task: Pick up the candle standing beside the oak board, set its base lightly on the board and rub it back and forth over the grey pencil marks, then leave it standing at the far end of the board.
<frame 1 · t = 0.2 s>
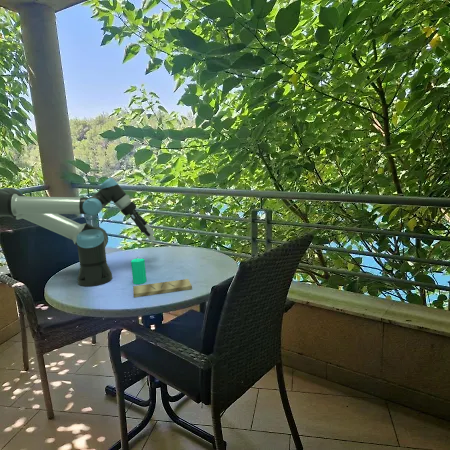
hand: (153, 237, 174), 15 cm above the table, tool tilted 35°, fingers open, 13 cm apart
candle: (139, 282, 154), on the table
oak board: (162, 289, 144), on the table
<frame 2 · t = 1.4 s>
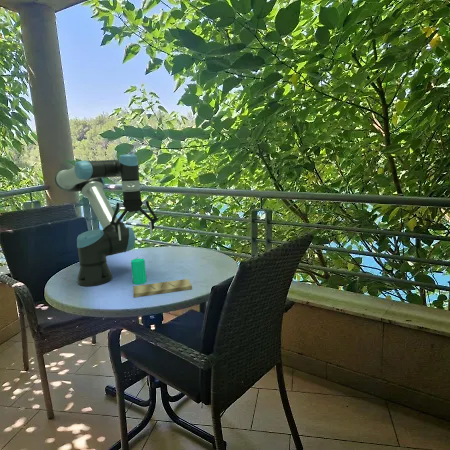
hand: (136, 238, 150), 21 cm above the table, tool pointing down, fingers open, 13 cm apart
nothing on the table moved.
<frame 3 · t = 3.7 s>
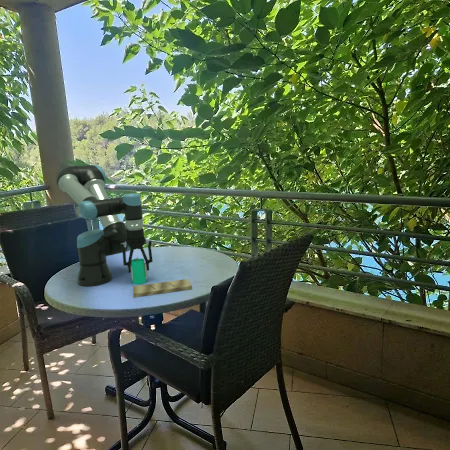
hand: (139, 278, 154), 2 cm above the table, tool pointing down, fingers closed on candle, 5 cm apart
candle: (139, 282, 154), on the table, touching gripper
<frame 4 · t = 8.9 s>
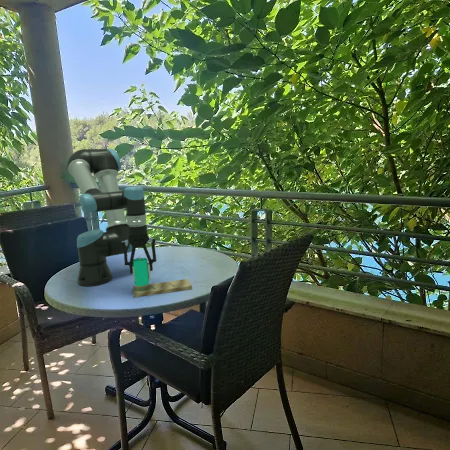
hand: (142, 279, 141), 6 cm above the table, tool pointing down, fingers closed on candle, 5 cm apart
candle: (142, 283, 141), point 4 cm above the table, touching gripper
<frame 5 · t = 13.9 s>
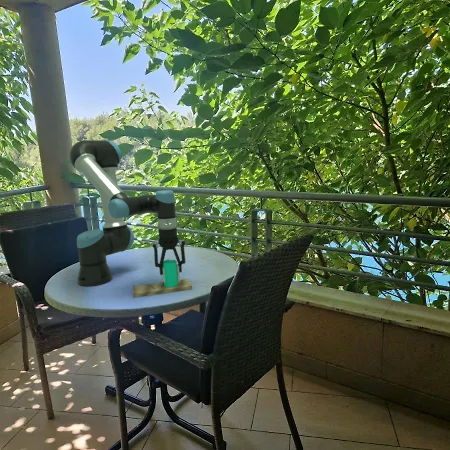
hand: (171, 280, 144), 3 cm above the table, tool pointing down, fingers closed on candle, 5 cm apart
candle: (171, 285, 145), point 1 cm above the table, touching gripper
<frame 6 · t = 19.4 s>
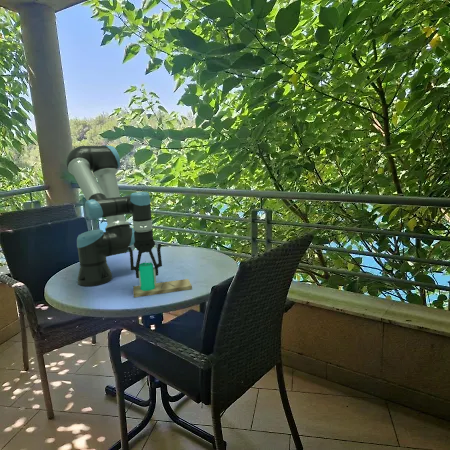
hand: (148, 283, 142), 3 cm above the table, tool pointing down, fingers closed on candle, 5 cm apart
candle: (147, 288, 142), point 1 cm above the table, touching gripper
when the fingers open (3 cm above the table, at t = 24.2 s): candle stays where it is, resting on oak board.
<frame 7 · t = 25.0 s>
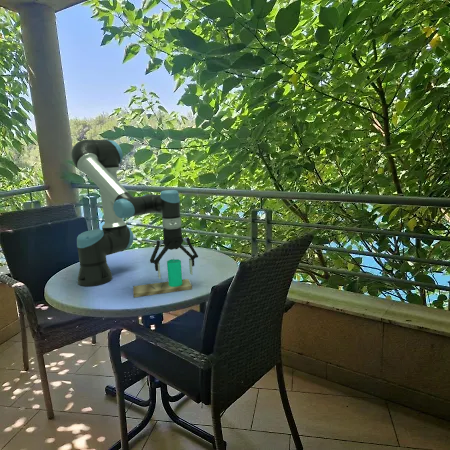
hand: (175, 275, 144), 5 cm above the table, tool pointing down, fingers open, 13 cm apart
candle: (175, 284, 145), point 1 cm above the table, touching oak board
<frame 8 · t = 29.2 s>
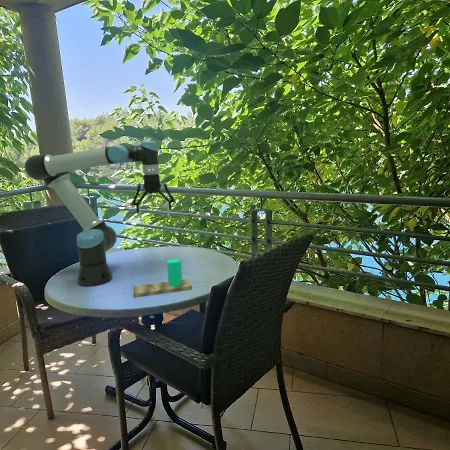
hand: (154, 217, 165), 27 cm above the table, tool pointing down, fingers open, 13 cm apart
nothing on the table moved.
at the end: candle inside the target area (0.3 cm from its centre), point 1.3 cm above the table; candle tilted 0°; candle touching oak board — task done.
